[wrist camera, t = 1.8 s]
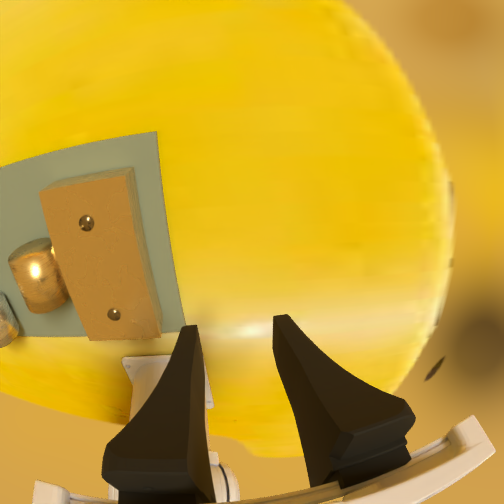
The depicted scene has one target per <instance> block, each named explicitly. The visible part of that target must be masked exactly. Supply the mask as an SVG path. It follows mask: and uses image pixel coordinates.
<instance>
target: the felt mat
mask: <svg viewBox="0 0 504 504" xmlns="http://www.w3.org/2000/svg"><path fill="white" fill-rule="evenodd" d="M127 167H134V170H135V177H136V184H137V191H138V197H139V204H140V210H141V216H142V221H143V227H144V232H145V238H146V243H147V248H148V253H149V258H150V262H151V267H152V272H153V276H154V280H155V285H156V289H157V293H158V297H159V301H160V305H161V309H162V313H163V323H162V332H161V333H167V332H179V331H180V330H181V328H182V327H183V326H186V323H185V318H184V314H183V309H182V304H181V299H180V294H179V289H178V284H177V278H176V273H175V267H174V261H173V256H172V250H171V244H170V237H169V231H168V224H167V217H166V210H165V203H164V195H163V187H162V179H161V170H160V161H159V151H158V141H157V131H156V132H149V133H142V134H136V135H129V136H123V137H118V138H112V139H107V140H102V141H97V142H92V143H87V144H83V145H78V146H74V147H70V148H66V149H62V150H58V151H54V152H50V153H46V154H43V155H39V156H36V157H32V158H29V159H26V160H22V161H19V162H16V163H13V164H10V165H7V166H4V167H1V168H0V291H1V292H2V293H3V294H4V296H5V298H6V300H7V302H8V305H9V307H10V309H11V311H12V313H13V315H14V317H15V318H16V320H17V322H18V324H19V332H18V334H17V336H43V337H75V336H87V334H86V331H85V329H84V327H83V325H82V323H81V320H80V318H79V316H78V313H77V311H76V309H75V306H74V304H73V301H72V299H71V297H70V296H69V298H68V299H67V301H66V302H65V303H64V304H62V305H61V306H60V307H58V308H57V309H55V310H53V311H50V312H47V313H43V314H34V313H32V312H30V311H29V310H28V308H27V306H26V304H25V301H24V299H23V297H22V295H21V293H20V290H19V288H18V286H17V283H16V281H15V278H14V276H13V274H12V271H11V268H10V266H9V263H8V258H9V256H10V254H11V253H12V252H13V251H14V250H16V249H17V248H18V247H20V246H22V245H23V244H25V243H27V242H30V241H32V240H35V239H39V238H46V237H48V238H50V235H49V232H48V228H47V225H46V221H45V217H44V213H43V209H42V205H41V201H40V197H39V191H41V190H42V189H44V188H45V187H47V186H48V185H50V184H51V183H53V182H54V181H57V180H62V179H67V178H71V177H76V176H81V175H86V174H92V173H97V172H103V171H109V170H114V169H121V168H127Z"/></svg>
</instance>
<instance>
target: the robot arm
mask: <svg viewBox="0 0 504 504" xmlns="http://www.w3.org/2000/svg"><path fill="white" fill-rule="evenodd" d="M272 348H273V353H274V357H275V361H276V366H277V369H278V372H279V375H280V377H281V380H282V383H283V385H284V388H285V391H286V393H287V396H288V399H289V401H290V404H291V407H292V410H293V413H294V416H295V420H296V424H297V428H298V432H299V436H300V440H301V444H302V449H303V453H304V458H305V462H306V467H307V472H308V477H309V482H310V488H308V489H304V490H300V491H296V492H291V493H286V494H281V495H275V496H270V497H264V498H257V499H250V500H242V501H240V493H239V486H238V482H237V479H236V476H235V474H234V472H233V471H232V470H231V469H230V468H229V466H228V465H227V464H225V463H222V462H219V460H218V453H217V452H212V451H211V450H210V440H209V430H208V419H207V409H211V408H213V407H214V402H213V398H212V393H211V389H210V384H209V380H208V375H207V371H206V366H205V361H204V356H203V353H202V348H201V343H200V338H199V333H198V327H197V325H189V326H183V327H182V328H181V330H180V334H179V337H178V340H177V343H176V345H175V348H174V350H173V353H172V355H159V356H138V357H123V358H122V364H123V366H124V369H125V371H126V373H127V375H128V377H129V379H130V381H131V383H132V385H133V392H132V400H131V409H130V419H129V423H128V424H127V425H126V426H125V427H124V428H123V429H122V431H121V432H119V433H118V434H117V435H116V436H115V437H114V438H113V439H112V440H111V441H110V442H109V443H108V444H107V445H106V449H105V452H104V456H103V462H102V474H101V475H102V478H103V479H104V480H105V481H106V482H107V483H109V488H108V499H102V498H96V497H89V496H84V495H79V494H74V493H70V492H69V491H68V490H66V489H65V488H63V487H60V486H58V485H54V484H51V483H47V482H42V481H40V480H36V481H35V487H34V494H33V502H32V504H318V503H322V502H325V501H329V500H333V499H336V498H339V497H342V496H344V497H343V500H342V501H333V502H329V503H325V504H419V503H421V502H423V501H425V500H427V499H428V498H430V497H432V496H434V495H435V494H437V493H439V492H440V491H442V490H444V489H445V488H447V487H449V486H450V485H452V484H453V483H455V482H456V481H458V480H459V479H461V478H463V477H464V476H465V475H467V474H468V473H470V472H471V471H472V470H474V469H475V468H476V467H478V466H479V465H480V464H481V463H483V462H484V461H485V460H487V458H489V457H490V456H491V455H492V454H494V453H495V448H494V447H493V445H492V444H491V442H490V440H489V439H488V437H487V435H486V434H485V432H484V430H483V429H482V427H481V426H480V424H479V422H478V421H477V419H476V418H475V416H474V415H471V416H469V417H467V418H466V419H464V420H462V421H461V422H459V423H458V424H456V425H455V426H453V427H452V428H451V429H450V431H448V433H447V434H446V435H445V436H443V437H441V438H439V439H437V440H435V441H433V442H432V443H430V444H428V445H426V446H424V447H422V448H420V449H418V450H415V451H413V452H411V453H409V452H408V450H407V448H406V446H405V445H406V444H407V440H406V439H405V435H406V434H407V432H408V431H409V430H410V429H411V427H412V426H413V424H414V422H415V419H416V417H415V415H414V413H413V412H412V410H411V408H410V407H409V405H408V404H407V402H406V401H405V400H404V399H402V398H399V397H396V396H394V395H391V394H388V393H386V392H383V391H381V390H379V389H377V388H375V387H373V386H371V385H369V384H367V383H366V382H364V381H362V380H360V379H359V378H357V377H355V376H354V375H352V374H351V373H349V372H348V371H346V370H345V369H343V368H342V367H341V366H339V365H338V364H337V363H335V362H334V361H333V360H332V359H330V358H329V357H328V356H327V355H326V354H325V353H324V352H322V351H321V350H320V349H319V348H318V347H317V346H316V345H315V344H314V343H313V342H312V341H311V340H310V339H309V338H308V337H307V336H306V335H305V334H304V333H303V331H302V330H301V329H300V328H299V327H298V326H297V325H296V323H295V322H294V321H293V320H292V319H291V317H290V316H289V315H287V314H284V315H277V316H273V347H272ZM345 495H346V496H345Z"/></svg>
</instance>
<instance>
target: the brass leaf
mask: <svg viewBox="0 0 504 504" xmlns="http://www.w3.org/2000/svg"><path fill="white" fill-rule="evenodd" d="M39 197H40V201H41V205H42V209H43V213H44V217H45V221H46V225H47V228H48V232H49V235H50V238H48V237H46V238H39V239H35V240H32V241H30V242H27V243H25V244H23V245H22V246H20V247H18V248H17V249H16V250H14V251H13V252H12V253H11V254H10V256H9V258H8V263H9V266H10V268H11V271H12V274H13V276H14V278H15V281H16V283H17V286H18V288H19V290H20V293H21V295H22V297H23V299H24V301H25V304H26V306H27V308H28V310H29V311H30V312H32V313H34V314H43V313H47V312H50V311H53V310H55V309H57V308H58V307H60V306H61V305H62V304H64V303H65V302H66V301H67V299H68V298H69V296H70V297H71V299H72V301H73V304H74V306H75V309H76V311H77V313H78V316H79V318H80V320H81V323H82V325H83V327H84V329H85V331H86V334H87V336H88V338H89V340H90V341H96V340H126V339H146V338H161V332H162V323H163V313H162V309H161V305H160V301H159V297H158V293H157V289H156V285H155V280H154V276H153V272H152V267H151V262H150V258H149V253H148V248H147V243H146V238H145V232H144V227H143V221H142V216H141V210H140V204H139V197H138V191H137V184H136V177H135V170H134V167H127V168H121V169H114V170H109V171H103V172H97V173H92V174H86V175H81V176H76V177H71V178H67V179H62V180H57V181H54V182H53V183H51V184H50V185H48V186H47V187H45V188H44V189H42V190H41V191H39Z"/></svg>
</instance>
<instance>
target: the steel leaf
mask: <svg viewBox="0 0 504 504" xmlns="http://www.w3.org/2000/svg"><path fill="white" fill-rule="evenodd" d="M18 332H19V324H18V322H17V320H16V318H15V317H14V315H13V313H12V311H11V309H10V307H9V305H8V302H7V300H6V298H5V296H4V294H3V293H2V292H1V291H0V348H2V347H4V346H6V345H8V344H9V343H11V342H12V341H13V340H14V339H15V337H16V336H17V334H18Z"/></svg>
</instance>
